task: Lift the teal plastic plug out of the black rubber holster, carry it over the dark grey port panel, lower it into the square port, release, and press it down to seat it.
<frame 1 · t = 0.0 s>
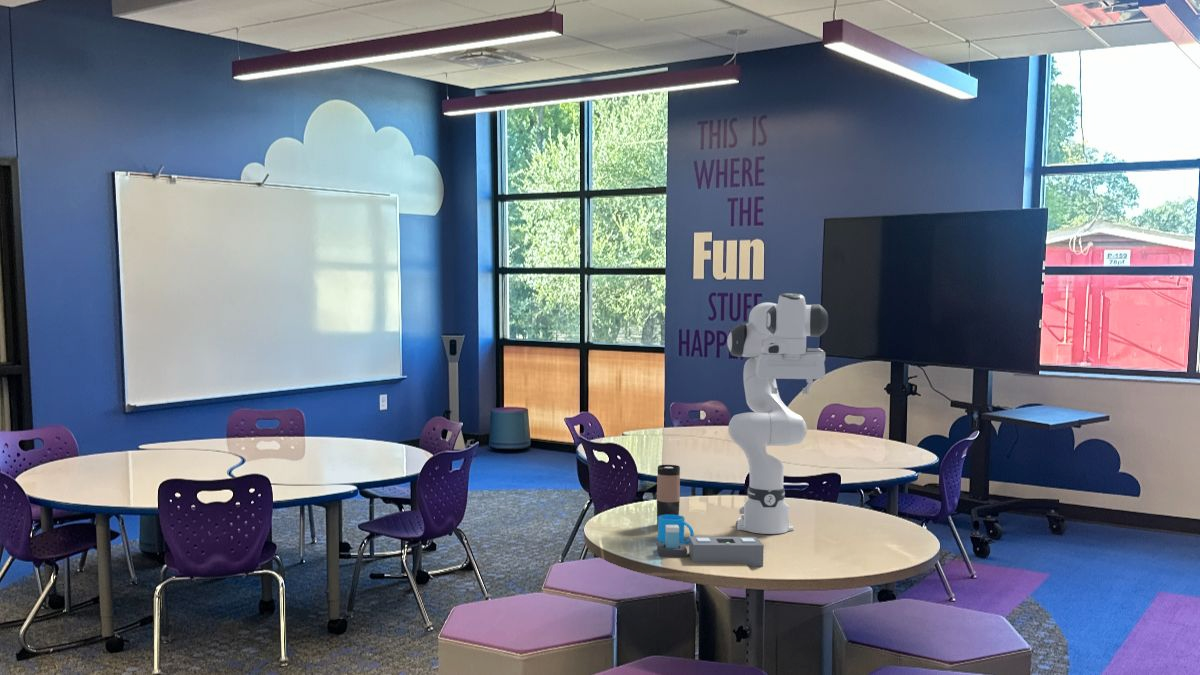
hand: (789, 394, 288), 48 cm above the table, tool pointing down, fingers open, 8 cm apart
holster: (671, 556, 284), on the table
plug: (671, 553, 284), point 1 cm above the table, touching holster
mug: (676, 545, 299), on the table
travel mug: (667, 526, 324), on the table
port panel: (725, 561, 280), on the table
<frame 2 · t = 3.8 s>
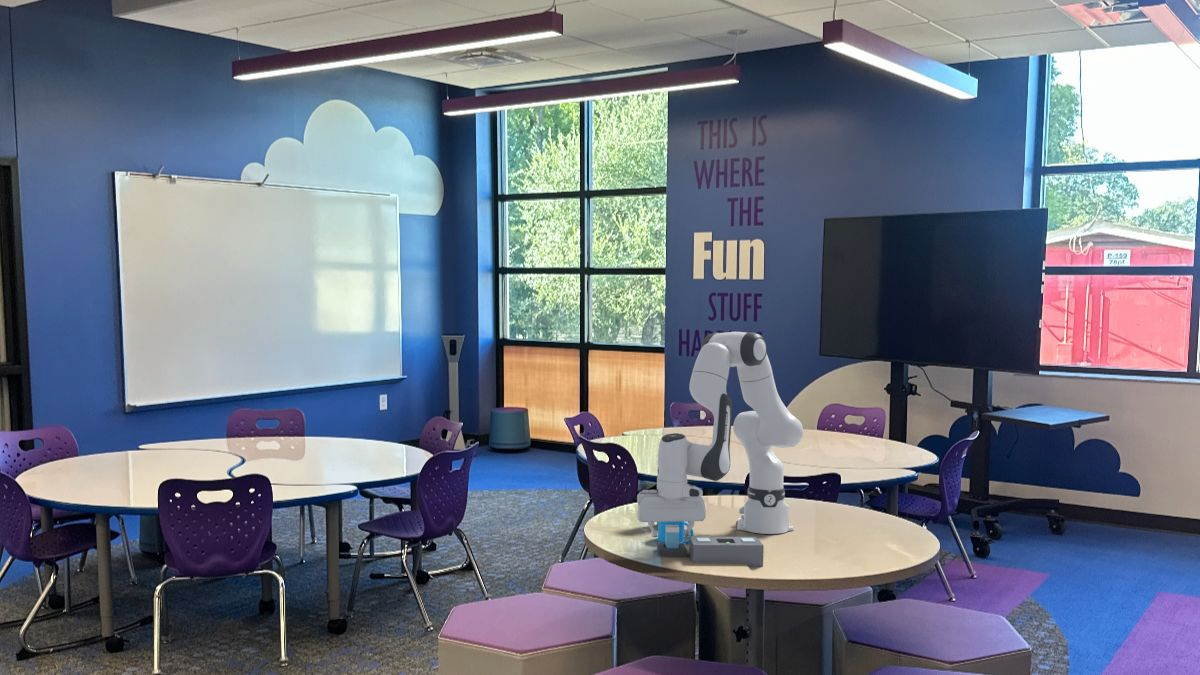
hand: (670, 536, 284), 6 cm above the table, tool pointing down, fingers open, 8 cm apart
nothing on the table moved.
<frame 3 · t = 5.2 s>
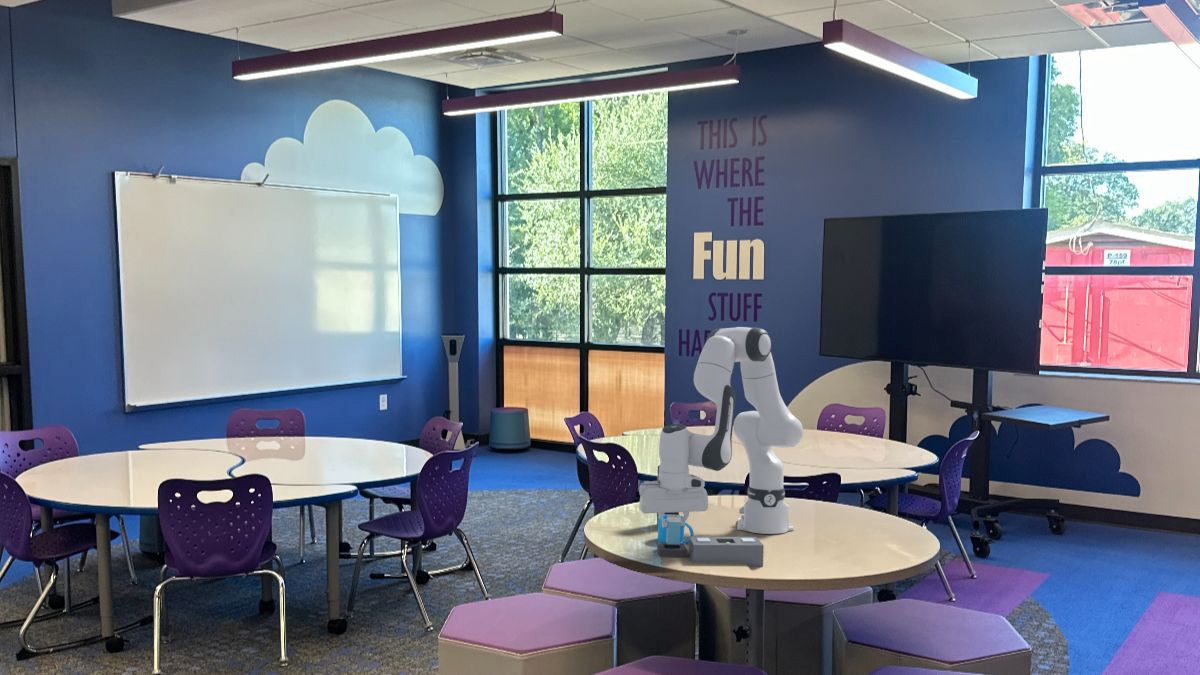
hand: (673, 526, 284), 9 cm above the table, tool pointing down, fingers closed on plug, 4 cm apart
plug: (672, 543, 284), point 4 cm above the table, touching gripper
everything else where it was.
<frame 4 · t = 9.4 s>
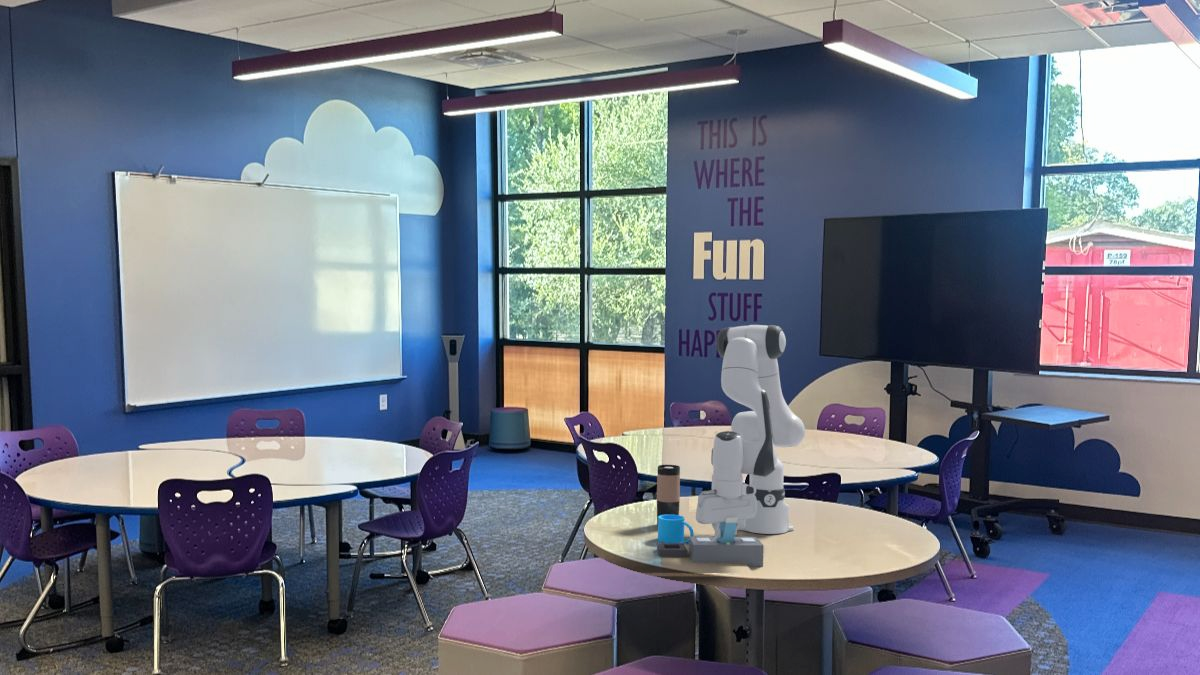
hand: (725, 536, 279), 7 cm above the table, tool pointing down, fingers closed on plug, 4 cm apart
plug: (724, 542, 279), point 6 cm above the table, tilted 9°, touching gripper, port panel
everything else where it was.
when the fingers open (7 cm above the table, at t = 9.7 s): plug drops 4 cm, resting on port panel.
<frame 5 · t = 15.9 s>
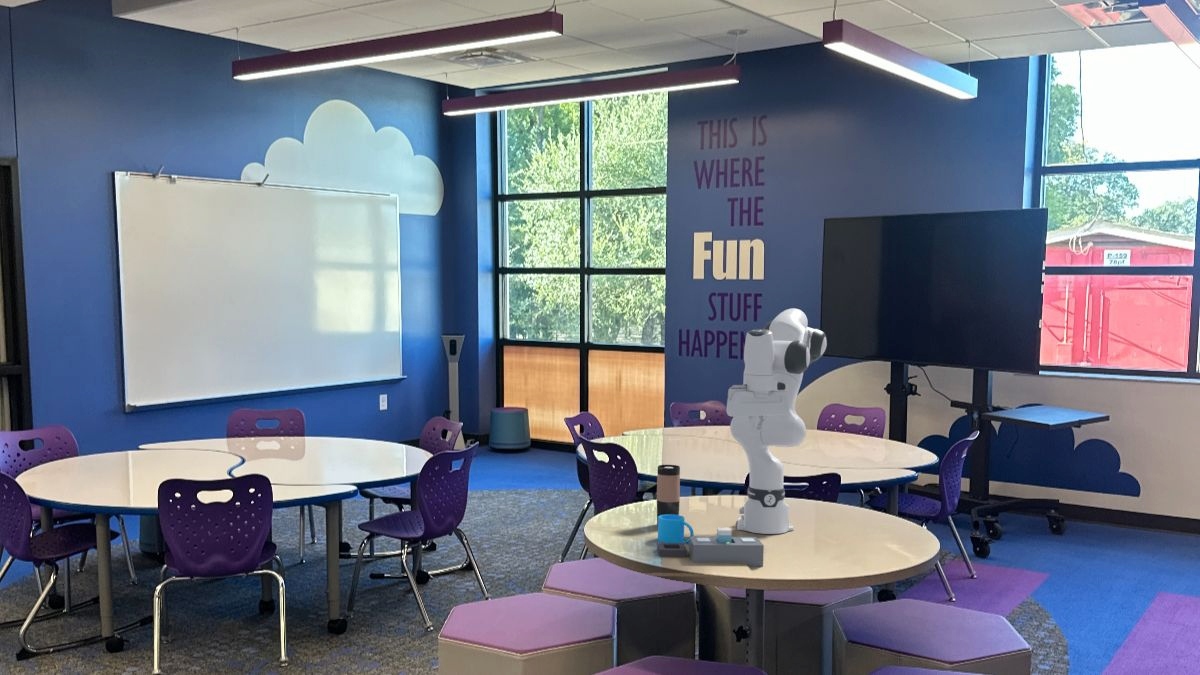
hand: (757, 431, 286), 37 cm above the table, tool pointing down, fingers closed
plug: (723, 556, 280), point 1 cm above the table, touching port panel
everything else where it was.
at the end: plug 0.5 cm off-centre on the port panel, point 1.5 cm above the port panel's base; plug tilted 0°; the gripper is holding nothing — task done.
